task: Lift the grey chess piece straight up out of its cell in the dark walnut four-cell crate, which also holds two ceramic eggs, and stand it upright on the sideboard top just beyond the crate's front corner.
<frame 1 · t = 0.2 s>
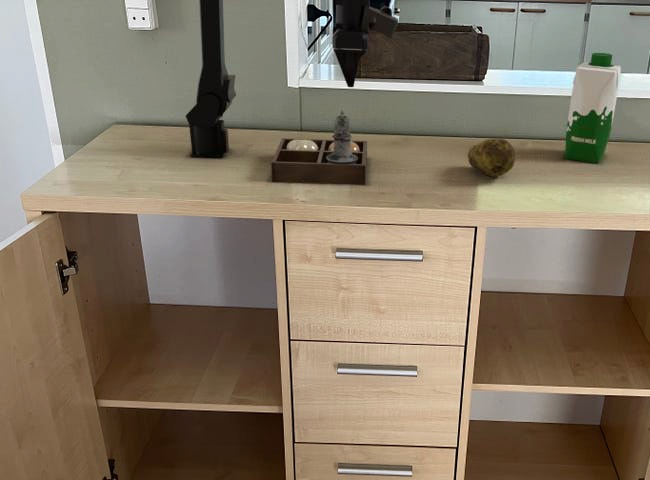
hand: (351, 82, 145), 15 cm above the table, tool pointing down, fingers open, 9 cm apart
potato: (489, 178, 145), on the table
cream egg: (302, 162, 148), resting in crate
crate: (321, 169, 145), on the table
brown egg: (344, 164, 149), resting in crate
milk carton: (584, 158, 160), on the table
grey chess piece: (342, 177, 142), resting in crate
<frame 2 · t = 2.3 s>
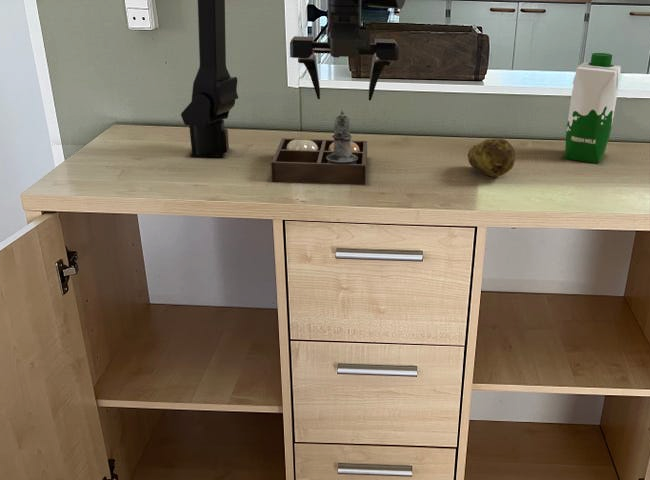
hand: (344, 99, 137), 13 cm above the table, tool pointing down, fingers open, 9 cm apart
nothing on the table moved.
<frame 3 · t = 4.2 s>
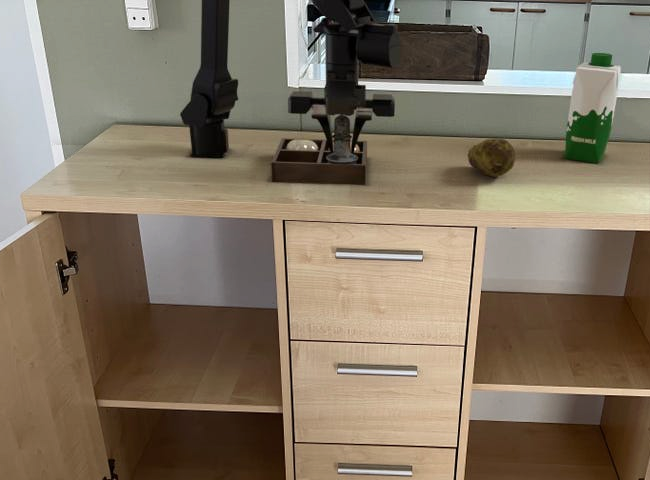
hand: (342, 152, 139), 5 cm above the table, tool pointing down, fingers closed on grey chess piece, 3 cm apart
grey chess piece: (342, 177, 142), resting in crate, touching gripper
everything else where it was.
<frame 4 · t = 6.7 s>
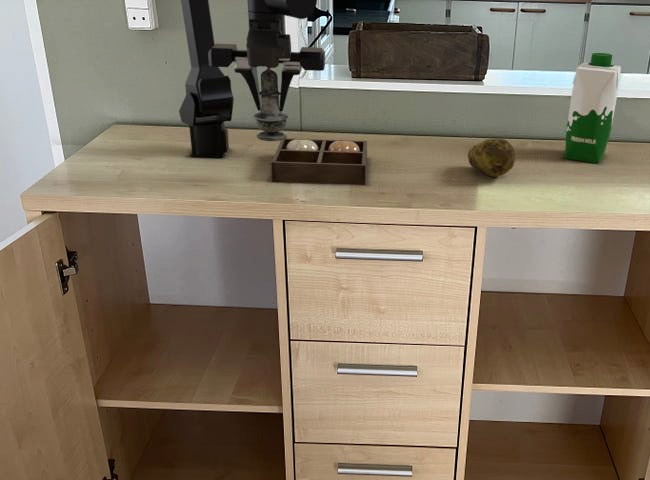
hand: (270, 110, 130), 13 cm above the table, tool pointing down, fingers closed on grey chess piece, 3 cm apart
grey chess piece: (271, 138, 133), point 8 cm above the table, touching gripper
everything else where it was.
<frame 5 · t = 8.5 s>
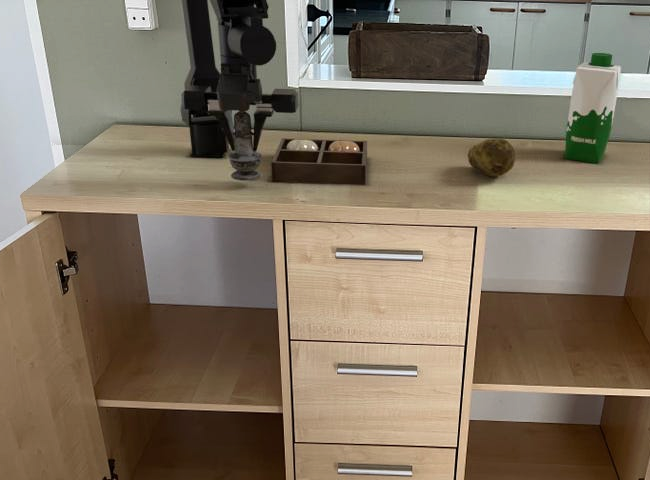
hand: (244, 150, 132), 6 cm above the table, tool pointing down, fingers closed on grey chess piece, 3 cm apart
grey chess piece: (246, 177, 134), point 2 cm above the table, touching gripper
everything else where it was.
when the fingers open (4 cm above the table, at t = 9.4 s): grey chess piece stays where it is, on the table.
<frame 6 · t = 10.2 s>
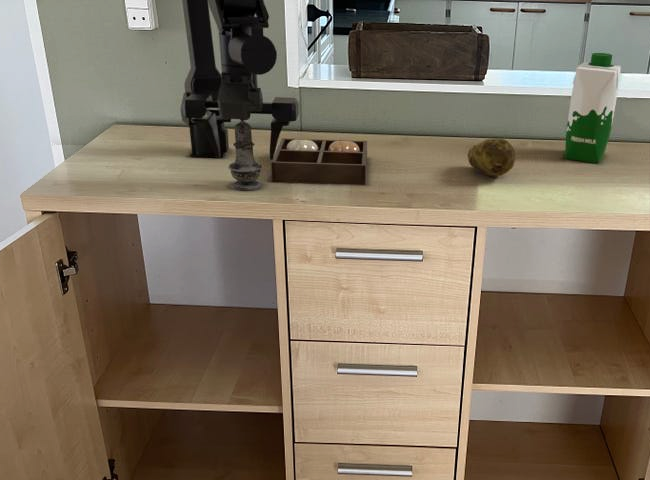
hand: (245, 158, 132), 5 cm above the table, tool pointing down, fingers open, 9 cm apart
grey chess piece: (246, 187, 135), on the table
everything else where it was.
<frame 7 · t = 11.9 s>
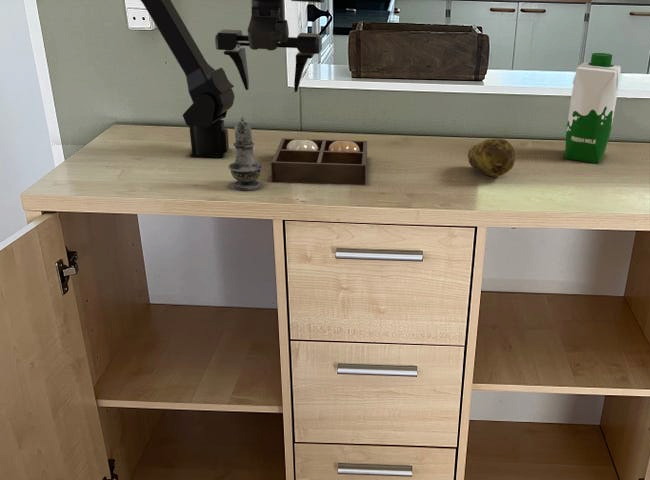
hand: (271, 90, 143), 13 cm above the table, tool pointing down, fingers open, 9 cm apart
nothing on the table moved.
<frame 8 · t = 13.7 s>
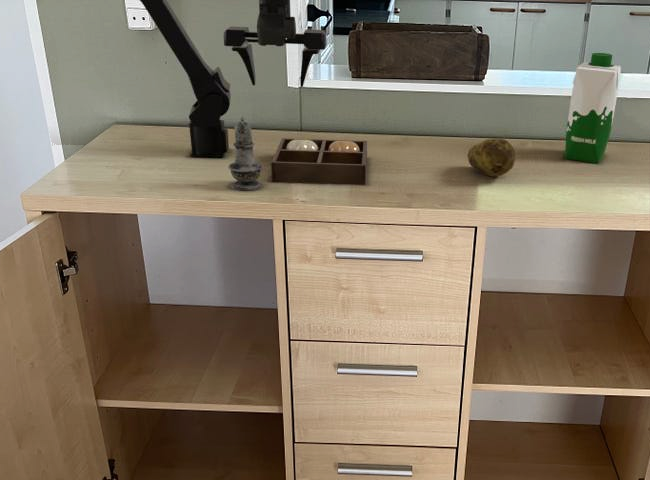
hand: (278, 85, 147), 13 cm above the table, tool pointing down, fingers open, 9 cm apart
nothing on the table moved.
at the end: grey chess piece inside the target area (0.3 cm from its centre), on the table; grey chess piece tilted 0°; the gripper is holding nothing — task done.
